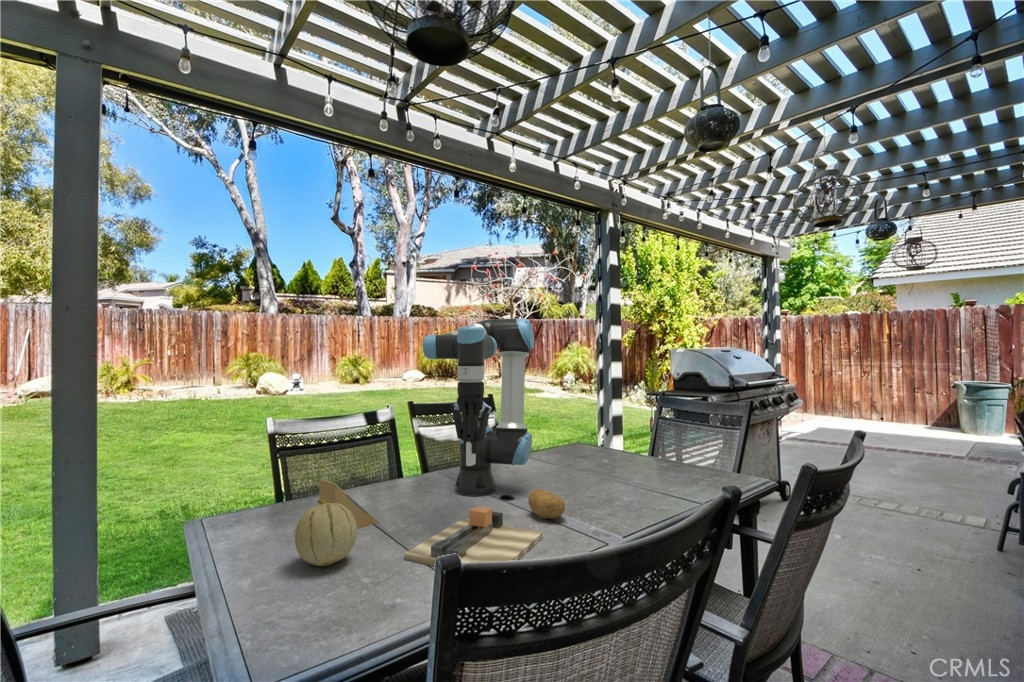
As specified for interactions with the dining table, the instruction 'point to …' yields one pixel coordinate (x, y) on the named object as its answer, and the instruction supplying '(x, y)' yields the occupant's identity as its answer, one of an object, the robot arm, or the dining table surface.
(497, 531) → the tongs board
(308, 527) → the cantaloupe
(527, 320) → the robot arm
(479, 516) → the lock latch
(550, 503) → the potato
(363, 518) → the sandwich container
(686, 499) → the dining table surface
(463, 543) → the upper tong arm
